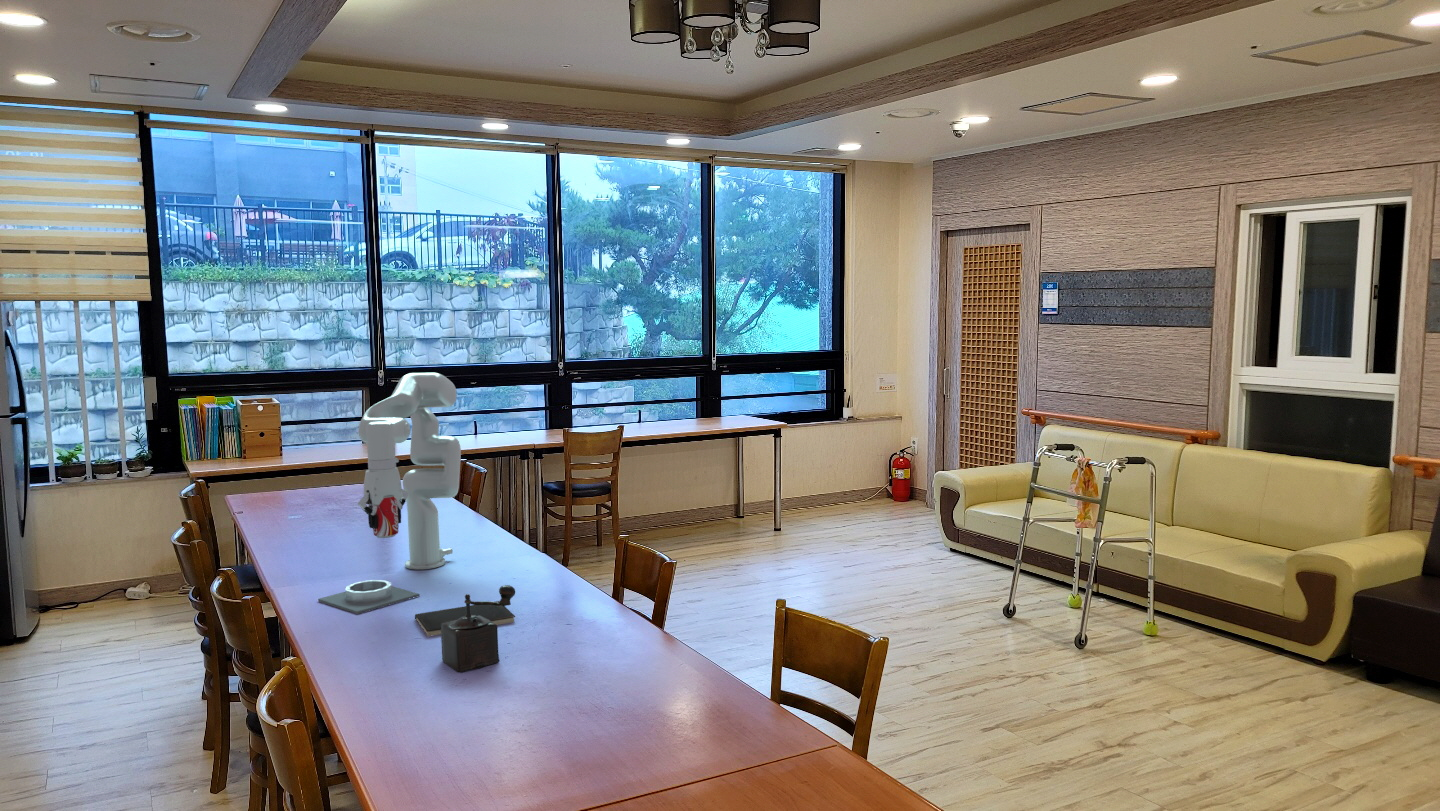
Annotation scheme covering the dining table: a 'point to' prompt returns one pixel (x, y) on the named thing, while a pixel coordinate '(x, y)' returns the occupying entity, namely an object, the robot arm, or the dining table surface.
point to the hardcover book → (435, 618)
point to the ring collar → (368, 591)
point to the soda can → (387, 518)
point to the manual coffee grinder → (473, 637)
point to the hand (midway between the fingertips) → (385, 524)
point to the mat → (357, 608)
